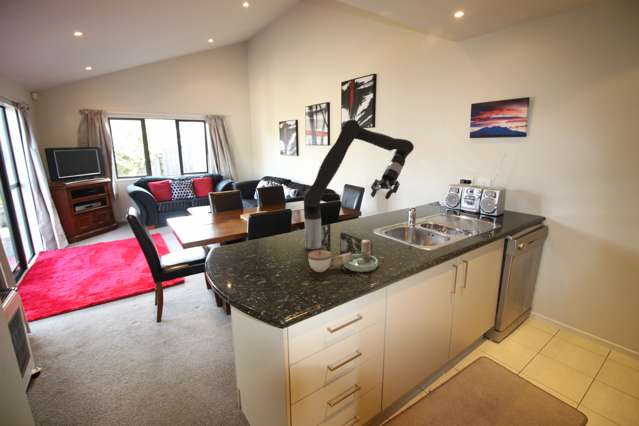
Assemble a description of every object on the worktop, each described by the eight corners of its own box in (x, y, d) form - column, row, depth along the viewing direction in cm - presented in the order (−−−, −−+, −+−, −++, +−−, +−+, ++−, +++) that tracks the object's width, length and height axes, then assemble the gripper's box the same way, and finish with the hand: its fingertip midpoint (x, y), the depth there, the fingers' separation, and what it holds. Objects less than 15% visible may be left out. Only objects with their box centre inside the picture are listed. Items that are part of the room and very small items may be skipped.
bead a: (362, 262, 148) (362, 242, 146) (360, 259, 152) (360, 240, 150) (371, 261, 148) (371, 242, 146) (369, 258, 153) (369, 239, 150)
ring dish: (347, 272, 139) (347, 266, 138) (341, 259, 154) (341, 254, 154) (381, 270, 140) (381, 264, 139) (372, 257, 156) (372, 252, 155)
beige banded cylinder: (352, 258, 145) (332, 264, 146) (350, 250, 144) (330, 256, 144) (354, 262, 141) (333, 268, 141) (351, 254, 140) (331, 260, 140)
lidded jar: (323, 276, 136) (323, 256, 133) (304, 271, 141) (303, 252, 139) (335, 267, 144) (335, 249, 142) (316, 263, 150) (316, 245, 148)
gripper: (377, 167, 161) (364, 191, 156) (401, 168, 151) (388, 194, 146) (383, 176, 166) (370, 200, 160) (406, 178, 156) (394, 203, 151)
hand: (379, 197), depth 153 cm, fingers open, 8 cm apart
